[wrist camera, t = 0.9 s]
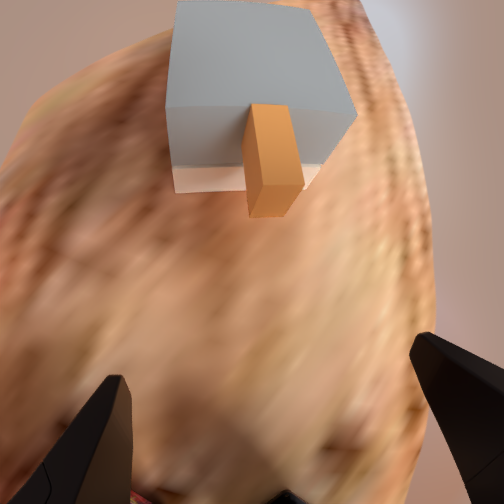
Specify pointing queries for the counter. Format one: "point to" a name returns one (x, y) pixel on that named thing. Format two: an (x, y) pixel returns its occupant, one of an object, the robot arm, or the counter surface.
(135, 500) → the snack box
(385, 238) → the counter surface
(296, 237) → the counter surface
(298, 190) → the grey boxy piece
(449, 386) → the robot arm
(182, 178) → the carton base
